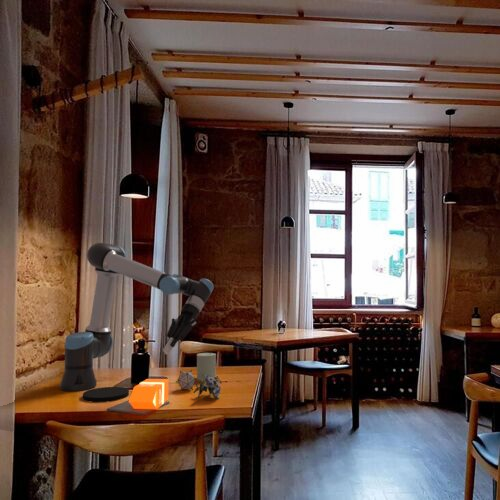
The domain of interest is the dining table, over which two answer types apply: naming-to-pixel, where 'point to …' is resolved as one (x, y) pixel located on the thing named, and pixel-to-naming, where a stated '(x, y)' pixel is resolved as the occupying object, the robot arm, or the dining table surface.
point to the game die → (186, 380)
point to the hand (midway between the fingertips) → (165, 352)
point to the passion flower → (209, 386)
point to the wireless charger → (105, 394)
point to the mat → (128, 408)
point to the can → (206, 365)
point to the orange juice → (149, 394)
